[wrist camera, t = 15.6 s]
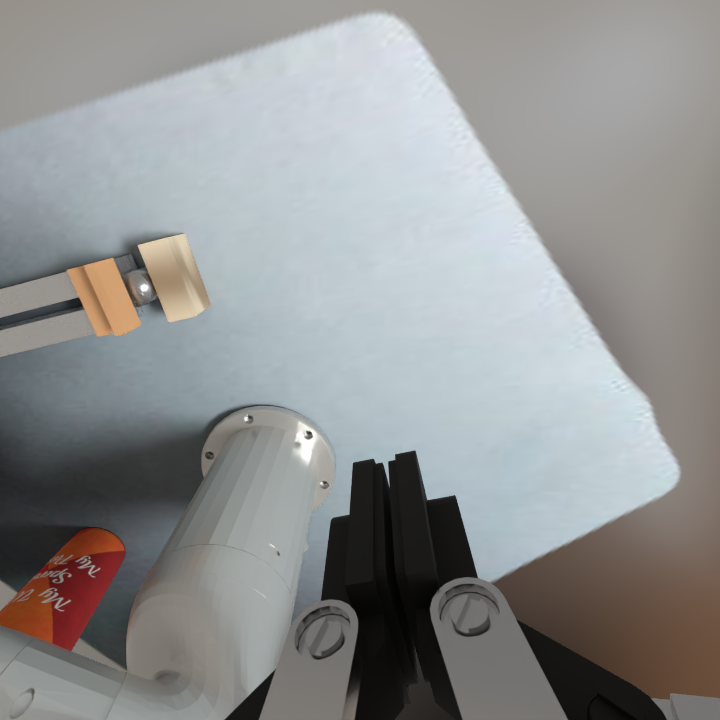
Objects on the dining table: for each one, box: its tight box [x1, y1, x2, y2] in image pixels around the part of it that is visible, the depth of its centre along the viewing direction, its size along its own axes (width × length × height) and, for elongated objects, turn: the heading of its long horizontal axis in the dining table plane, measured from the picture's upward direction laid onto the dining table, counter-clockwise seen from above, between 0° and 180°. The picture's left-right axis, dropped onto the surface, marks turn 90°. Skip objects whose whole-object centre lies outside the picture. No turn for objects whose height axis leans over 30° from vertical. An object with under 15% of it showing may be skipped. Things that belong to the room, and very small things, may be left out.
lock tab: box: [67, 258, 141, 337], centre depth 33 cm, size 5×3×2 cm, turn 14°
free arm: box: [0, 254, 159, 318], centre depth 36 cm, size 4×19×3 cm, turn 104°
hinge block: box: [138, 233, 211, 323], centre depth 35 cm, size 6×2×4 cm, turn 14°
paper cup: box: [0, 528, 125, 651], centre depth 41 cm, size 8×8×14 cm
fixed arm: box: [0, 306, 144, 357], centre depth 37 cm, size 2×16×4 cm, turn 104°
